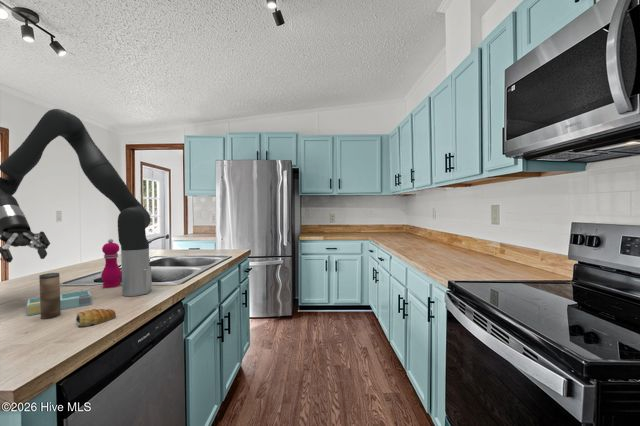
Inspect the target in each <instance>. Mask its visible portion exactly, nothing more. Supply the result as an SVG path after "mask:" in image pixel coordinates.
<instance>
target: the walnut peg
mask: <svg viewBox="0 0 640 426" xmlns="http://www.w3.org/2000/svg"><path fill="white" fill-rule="evenodd" d="M38 277H39V279H38V280H39V297H40V310H41V314H40V319H41V320H49V319H54V318H57V317H60V316H61V314H62V310H61V307H60V294H61V282H60V280H61V279H60V273H59V272H49V273H43V274H39V275H38Z"/></svg>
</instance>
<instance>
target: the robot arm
mask: <svg viewBox="0 0 640 426" xmlns="http://www.w3.org/2000/svg"><path fill="white" fill-rule="evenodd" d="M58 137H62V138H63V139H64V140H65V141H66V142H67V143H68V144H69V145H70V147H71V148H72V149H73V150H74V152H75V153H76V156H77V157H78V161H79V165H80V169H81V170H82V172H83V174H84V175H85V176H86V178H87V179H88V181H89V182H90V183H91V184H92V185H93V187H94V188H95V189H96V190H97V191H99V192H100V193H101V194H102V195H103V196H104V197H106V198H108V200H109V201H111V202H112V203H113V204H114V205H115V207H116V208H117V209H118V211H119V214H118V216H117V235H118V243H119V245H120V256H121V257H120V259H121V261H120V262H121V272H122V276H121V292H122V296H123V297H135V296H136V297H137V296H141V295H147V294H149V293H150V292H151V291H152V290H153V289H152V288H153V287H152V286H153V285H152V284H153V282H152V266H150V241H149V240H148V239H147V236H146V235H147V234H146V229H147V228H148V227H149V226H150V224H151V215H150V213H149V211H148V210H147V209H146V208H145V207H144V206H143V205H142V203H140V201H139V200H138V199H137V198H136V197H135V196H134V194H133V193H132V192H131V190H130V189H129V188H128V186H127V184H126V182H125V181H124V180H123V178H121V176H120V175H119V173H118V171H117V169H115V167H114V166H113V164H112V163H111V162H110V160H108V159H107V157H106V156H105V154H104V153H103V151H101V150H102V149H100V147H98V146H97V145H96V143H95V141H94V140H93V139H92V137H91V135H90V133H89V131H88V129H87V128H86V127H85V124H84V123H83V121H82V120H81V119H80V118H79V117H78V116H76V115H74V114H73V113H71V112H68V111H66V110H64V109H60V108H52V109H50V110H48V111H46V112H45V113H44V114H43V116H42V117H41V118H40V119H39V121H37V124H36V125H35V126H34V127H33V129H32V131H31V132H29V135H28V136H27V137H26V138H25V139H24V140H23V142H22V143H21V144H20V146H19V147H17V148H16V149H15V150H14V151H13V152H12V153H11V154H10V155H9V156H8V157H7V158H5V160H3V161H2V162H1V163H0V172H1V173H3V174H4V175H6V177H2V176H0V241H2V242H4V244H3V246H0V254H1V257H2V260H3V261H4V262H6V263H11V262H12V261H13V255H12V252H11V251H10V247H11V246H12V247H13V248H17V247H26V246H27V247H28V248H30V249H35V250H37V254H38V256H39V258H40V260H43V259H46V257H47V255H48V252H47V250H46V249H48V247H49V246H50V245H51V242H50V240H49V239H48V237H47V235H46V233H45V232H44V231H40V232H39V233H34V232H33V231H32V228H31V227H30V225H29V222H28V219H27V217H26V215H25V214H24V212H23V210H22V208H21V207H20V205H19V203H18V201H17V198H15V196H13V195H14V194H16V193H17V191H18V189H19V186H20V185H21V183H22V182H23V180H24V178H25V177H26V175H27V174H29V173H30V172H31V170H33V169H35V167H36V166H37V165H38V164H39V162H40V160H41V159H42V156H43V153H44V151H45V149H46V148H47V146H48V145H49V144H50V143H51V142H52V141H53V140H54V139H56V138H58ZM31 242H32V243H31Z"/></svg>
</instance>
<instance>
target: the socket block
mask: <svg viewBox="0 0 640 426" xmlns="http://www.w3.org/2000/svg"><path fill="white" fill-rule="evenodd" d="M89 305H90V306H91V305H92V294H91V292H90V290H89V289H86V290H85V289H84V290H79V291H71V292H65V293H60V307H61V311H62V310H63V311H64V310H68V309H73V308H78V307H83V306H89ZM34 315H41V310H40V296H39V297H33V298H28V299H27V304H26V316H27V317H29V316H34Z"/></svg>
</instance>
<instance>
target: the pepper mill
mask: <svg viewBox="0 0 640 426" xmlns="http://www.w3.org/2000/svg"><path fill="white" fill-rule="evenodd" d="M119 245H120V244H118V243H116V242H114V239H112V238H109V239H108V240H107V243H105V244H104V245H102V248H101V249H102V250H101V251H102V253H103V258H104V259H105V265H104V268H103V270H102V271H101V276H100V279H101V280H102V281H103V282H102V287H103V288H105V289H108V288H110V289H111V288H115V287H120V286H122V280H121V279H122V269H121V268H120V266H119V265H118V258H119V253H118V252H119V251H120V246H119ZM119 285H120V286H119Z"/></svg>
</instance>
